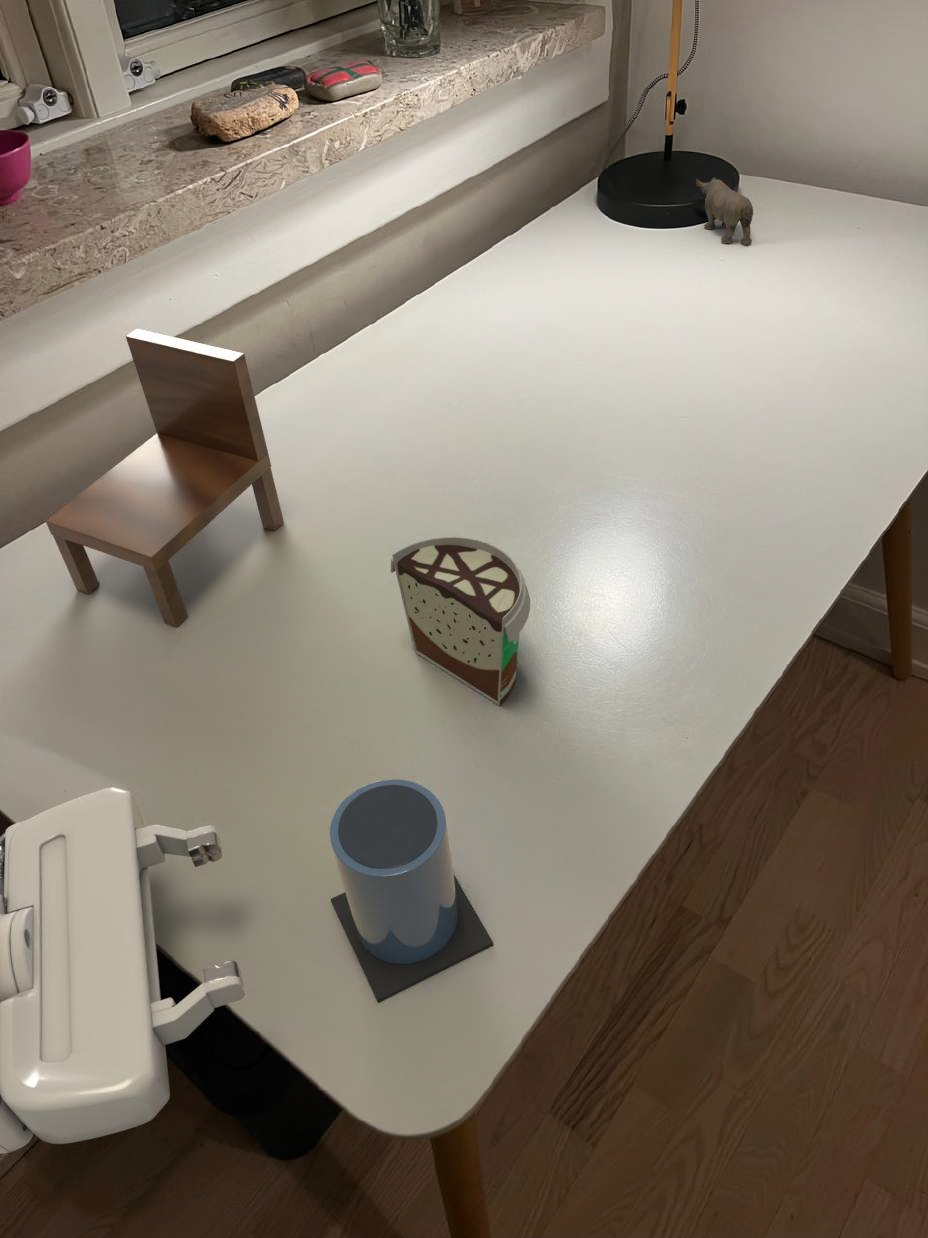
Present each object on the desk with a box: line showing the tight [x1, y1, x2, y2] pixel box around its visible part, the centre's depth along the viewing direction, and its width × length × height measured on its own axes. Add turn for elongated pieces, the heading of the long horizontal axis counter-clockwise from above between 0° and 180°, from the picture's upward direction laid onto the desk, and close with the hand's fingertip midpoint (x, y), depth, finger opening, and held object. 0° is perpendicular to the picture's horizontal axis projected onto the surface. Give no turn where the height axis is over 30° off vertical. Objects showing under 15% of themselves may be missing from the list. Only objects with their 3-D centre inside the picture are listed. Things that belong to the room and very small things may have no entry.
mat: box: [330, 874, 494, 1003], centre depth 67 cm, size 8×8×1 cm
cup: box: [329, 778, 459, 964], centre depth 63 cm, size 7×7×10 cm
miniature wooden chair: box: [45, 328, 285, 628], centre depth 90 cm, size 16×12×18 cm
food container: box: [390, 536, 531, 707], centre depth 80 cm, size 12×6×10 cm, turn 47°
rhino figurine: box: [695, 177, 754, 246], centre depth 137 cm, size 4×14×6 cm, turn 18°
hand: (229, 905), depth 59 cm, fingers open, 8 cm apart
